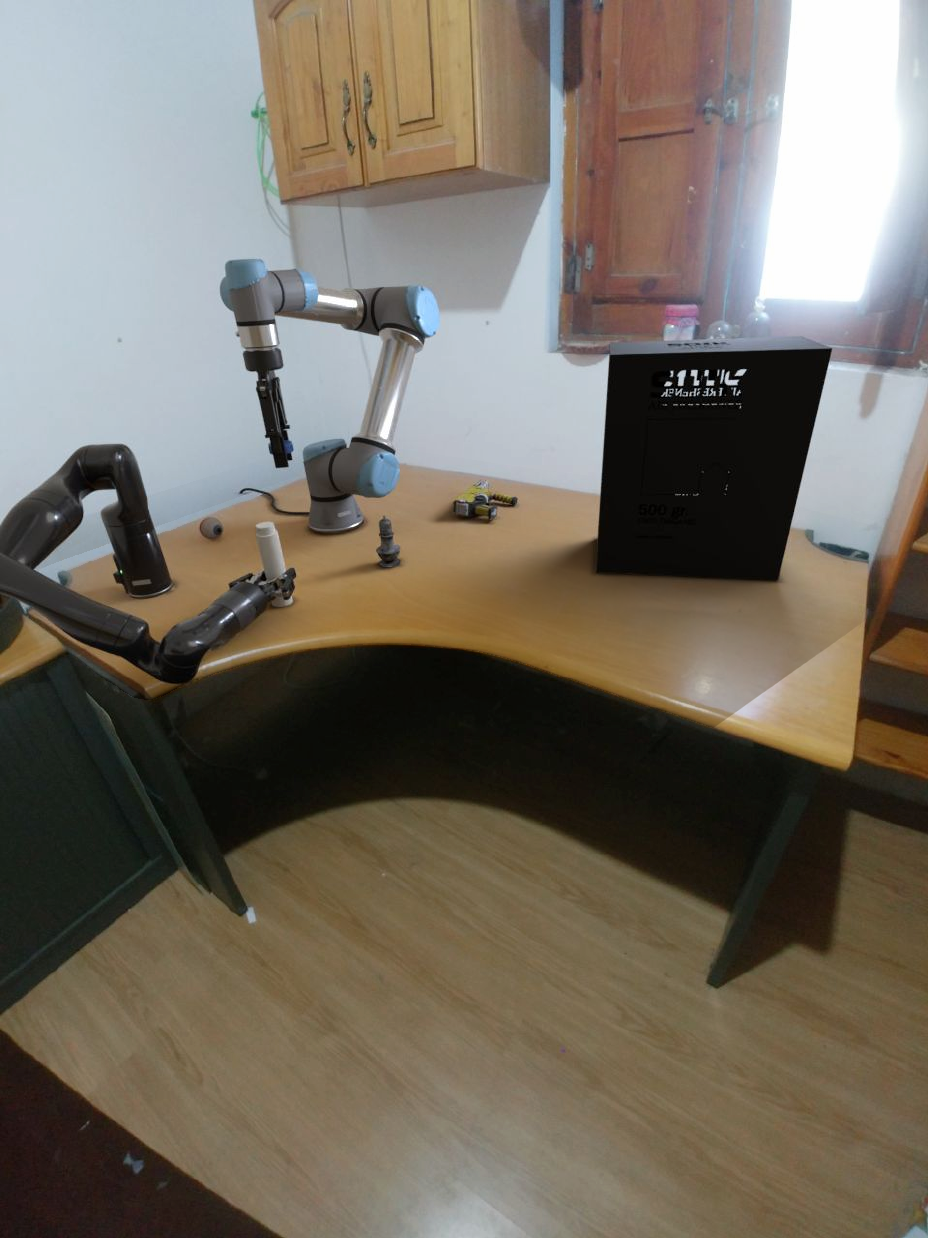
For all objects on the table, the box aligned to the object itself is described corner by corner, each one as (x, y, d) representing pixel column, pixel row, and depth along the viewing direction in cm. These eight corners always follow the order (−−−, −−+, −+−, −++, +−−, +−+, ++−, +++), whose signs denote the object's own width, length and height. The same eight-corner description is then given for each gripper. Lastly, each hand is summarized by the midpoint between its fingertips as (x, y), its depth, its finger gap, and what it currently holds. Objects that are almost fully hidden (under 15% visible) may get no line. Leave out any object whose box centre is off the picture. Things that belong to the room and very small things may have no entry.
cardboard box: (758, 542, 144) (801, 336, 122) (778, 580, 127) (832, 348, 105) (597, 537, 152) (610, 342, 129) (595, 572, 135) (610, 354, 112)
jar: (276, 597, 132) (258, 520, 124) (295, 598, 132) (278, 520, 123) (269, 607, 129) (250, 528, 120) (288, 607, 128) (270, 528, 119)
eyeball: (213, 544, 161) (207, 523, 158) (198, 540, 164) (191, 520, 161) (231, 536, 165) (225, 516, 162) (216, 533, 168) (210, 512, 165)
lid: (295, 452, 130) (293, 443, 129) (270, 456, 128) (268, 447, 127) (292, 447, 134) (290, 438, 133) (268, 450, 133) (266, 441, 132)
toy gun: (525, 484, 182) (478, 477, 186) (503, 508, 162) (451, 499, 166) (524, 500, 184) (477, 492, 188) (502, 525, 164) (450, 516, 168)
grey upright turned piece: (398, 568, 142) (392, 520, 136) (374, 567, 143) (367, 519, 137) (405, 558, 147) (399, 511, 141) (382, 557, 148) (376, 510, 142)
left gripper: (210, 622, 119) (258, 583, 133) (273, 629, 115) (316, 588, 130) (200, 588, 115) (250, 552, 130) (265, 594, 112) (310, 557, 126)
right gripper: (251, 345, 128) (273, 454, 140) (231, 354, 113) (259, 476, 124) (286, 342, 129) (306, 452, 141) (272, 352, 113) (296, 473, 125)
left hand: (283, 570), depth 129 cm, fingers closed on jar, 4 cm apart
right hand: (284, 463), depth 132 cm, fingers closed on lid, 5 cm apart
